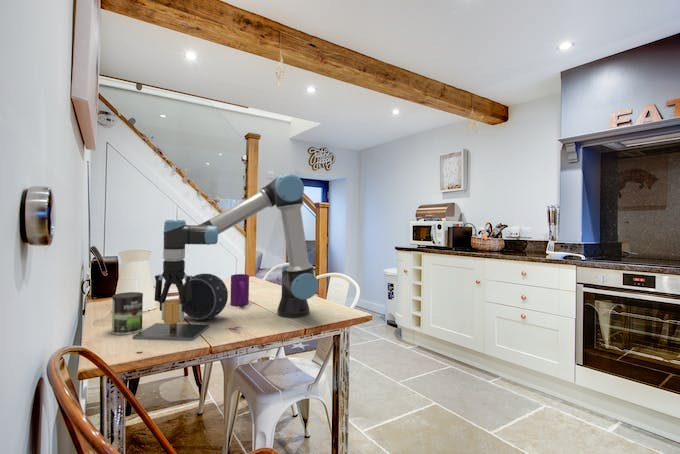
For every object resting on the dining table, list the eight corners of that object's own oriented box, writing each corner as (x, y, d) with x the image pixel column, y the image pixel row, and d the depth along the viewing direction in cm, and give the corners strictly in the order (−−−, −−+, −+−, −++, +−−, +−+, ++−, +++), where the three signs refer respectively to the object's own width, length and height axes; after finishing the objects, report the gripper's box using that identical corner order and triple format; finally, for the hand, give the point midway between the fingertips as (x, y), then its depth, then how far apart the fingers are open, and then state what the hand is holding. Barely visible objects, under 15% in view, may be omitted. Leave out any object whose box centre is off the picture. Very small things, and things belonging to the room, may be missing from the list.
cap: (184, 319, 138) (184, 299, 138) (176, 324, 132) (177, 302, 132) (169, 318, 139) (169, 298, 138) (161, 323, 133) (161, 302, 132)
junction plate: (209, 327, 144) (209, 310, 143) (192, 340, 128) (192, 321, 127) (156, 325, 144) (156, 308, 144) (132, 338, 128) (132, 319, 128)
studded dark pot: (217, 324, 147) (218, 277, 147) (175, 320, 151) (175, 274, 151) (230, 317, 158) (231, 273, 157) (190, 314, 162) (191, 270, 161)
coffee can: (148, 329, 138) (148, 294, 138) (120, 336, 130) (120, 299, 129) (134, 325, 144) (134, 290, 144) (106, 331, 135) (106, 295, 135)
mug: (247, 301, 188) (247, 273, 188) (252, 308, 174) (252, 278, 174) (229, 302, 185) (229, 274, 184) (233, 310, 170) (233, 279, 170)
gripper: (202, 259, 139) (201, 317, 139) (154, 257, 139) (153, 316, 139) (194, 261, 131) (193, 323, 132) (144, 260, 131) (142, 321, 132)
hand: (172, 319), depth 135 cm, fingers closed on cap, 6 cm apart
